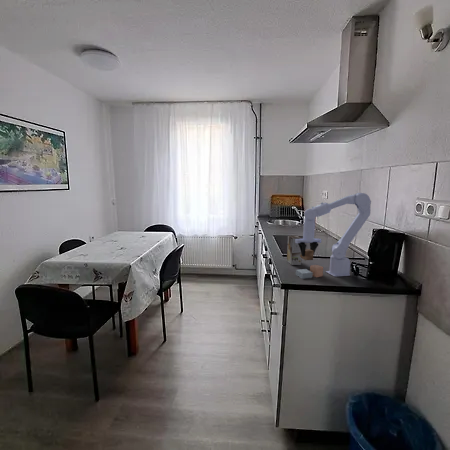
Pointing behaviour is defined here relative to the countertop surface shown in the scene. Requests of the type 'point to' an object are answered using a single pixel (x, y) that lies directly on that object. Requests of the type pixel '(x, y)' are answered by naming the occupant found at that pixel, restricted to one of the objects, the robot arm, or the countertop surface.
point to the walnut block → (308, 254)
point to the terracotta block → (316, 270)
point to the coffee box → (293, 251)
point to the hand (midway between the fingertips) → (307, 255)
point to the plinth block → (304, 273)
